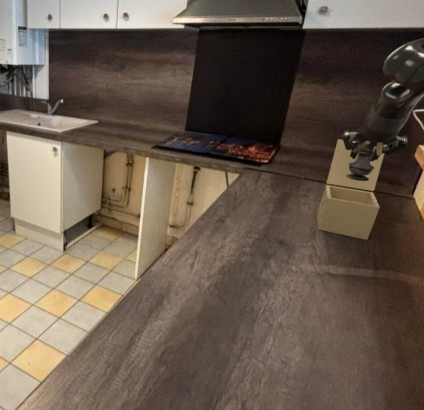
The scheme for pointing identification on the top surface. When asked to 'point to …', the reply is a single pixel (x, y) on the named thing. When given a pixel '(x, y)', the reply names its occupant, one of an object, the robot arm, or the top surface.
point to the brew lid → (342, 169)
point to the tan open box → (347, 211)
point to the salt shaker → (361, 165)
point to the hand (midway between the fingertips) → (362, 157)
